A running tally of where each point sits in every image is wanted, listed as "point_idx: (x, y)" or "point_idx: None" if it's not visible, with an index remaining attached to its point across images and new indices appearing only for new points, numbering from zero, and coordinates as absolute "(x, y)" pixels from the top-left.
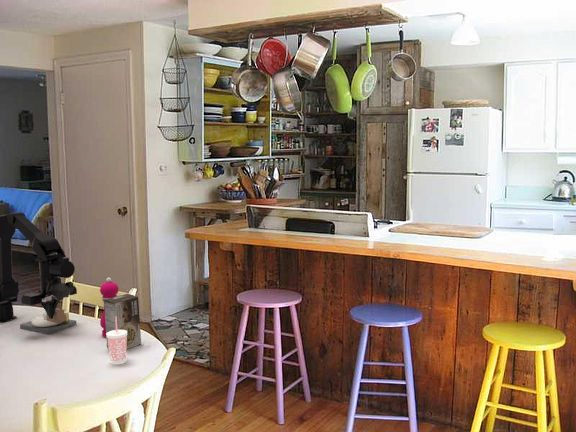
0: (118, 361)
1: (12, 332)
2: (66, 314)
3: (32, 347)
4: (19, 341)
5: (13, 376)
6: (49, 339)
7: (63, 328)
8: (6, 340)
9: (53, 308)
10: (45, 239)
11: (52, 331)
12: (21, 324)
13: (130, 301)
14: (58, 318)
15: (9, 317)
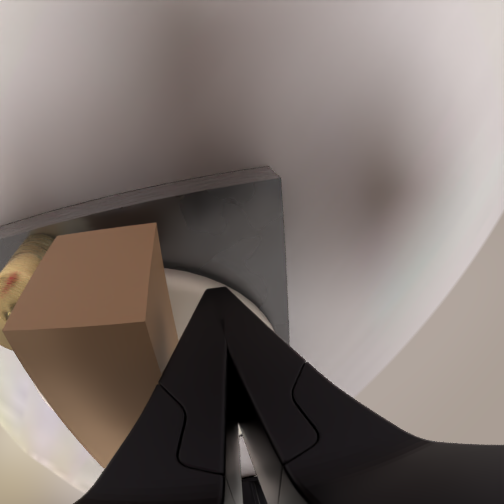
0: None
1: (343, 380)
2: (6, 293)
3: (484, 48)
4: (448, 216)
5: None
6: (354, 52)
7: (101, 200)
8: (446, 288)
9: (222, 398)
10: None
11: (237, 177)
12: None
13: None
14: (134, 252)
15: (242, 489)
